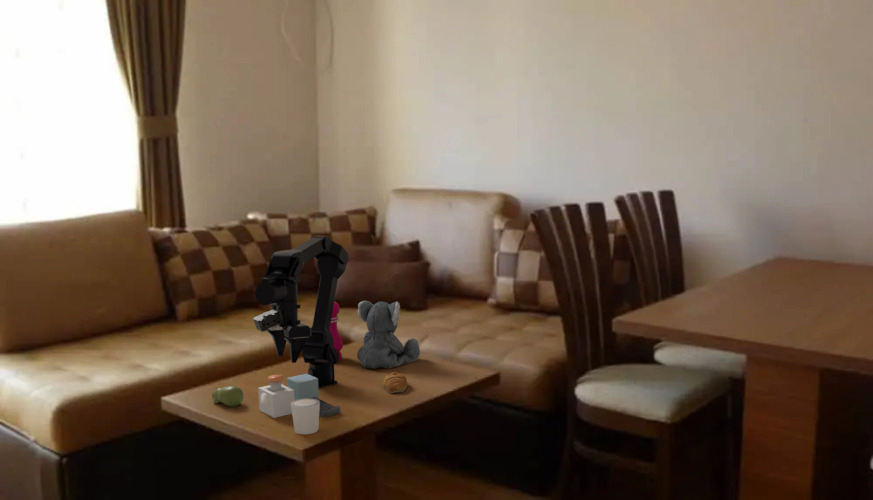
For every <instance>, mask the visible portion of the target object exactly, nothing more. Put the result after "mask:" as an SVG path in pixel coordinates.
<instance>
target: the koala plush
mask: <svg viewBox="0 0 873 500" xmlns="http://www.w3.org/2000/svg"><path fill="white" fill-rule="evenodd" d="M357 308H358V309H357V311H356V312H357V316H358V318H359V319H360V320H361V321H362V322H364V323H366V327H367V332H365V334H364V337H363V345H362V346H361V347H359V348H358V350H357V355H356V357H357V359H358V360H359V361H360V363H361V366H362V367H363V368H367V369H372V370H373V369H374V370H375V369H379V368H384V369H390V368H391V369H392V368H397V367H400V366H401V365H405V364H409V363H412V362H415V361H416V360H418V358H419V356H420V346H419V340H418V339H416V338H414V337H413V338H409V339H408V340H407V341H406V342H405V343H404V345H403V343H402V342H401V341H400V339H399V338H398V337H397V336H396V335H395V332H396V330H397V328H398V324H399V321H400V312H401V305H400V302H398V301H395V302H392V303H389V302H386V301H378V302H376V303H375V304H373V303H372V302H371V301H368V300H362V301H360V302H358V304H357Z"/></svg>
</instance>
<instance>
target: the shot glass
mask: <svg viewBox="0 0 873 500" xmlns="http://www.w3.org/2000/svg"><path fill="white" fill-rule="evenodd" d="M291 408H292V414H291V415H292V421H293V427H294V428H293V429H294V432H295V433H296V434H298V435H312V434H315V433H317V432H318V431H319V424H320V421H319V420H320V415H319V408H320V402H319V400H317V399H312V398H304V399H298V400H295V401H293V402H292V403H291Z"/></svg>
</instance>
